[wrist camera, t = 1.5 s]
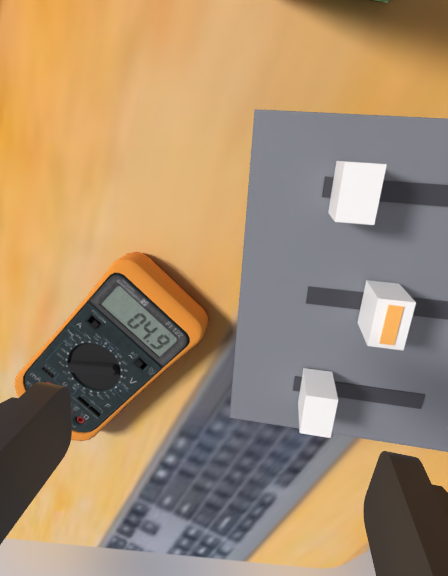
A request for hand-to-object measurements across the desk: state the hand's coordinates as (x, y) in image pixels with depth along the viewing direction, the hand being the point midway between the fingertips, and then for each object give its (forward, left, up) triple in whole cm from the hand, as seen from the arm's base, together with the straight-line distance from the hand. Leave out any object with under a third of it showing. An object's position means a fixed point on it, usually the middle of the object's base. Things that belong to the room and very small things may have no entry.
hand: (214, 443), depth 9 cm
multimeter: (+12, +10, -20) cm, 25 cm away
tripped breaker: (-8, +2, -16) cm, 18 cm away
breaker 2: (-5, -5, -16) cm, 17 cm away
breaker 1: (-5, +9, -16) cm, 19 cm away
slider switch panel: (-8, +2, -19) cm, 21 cm away
